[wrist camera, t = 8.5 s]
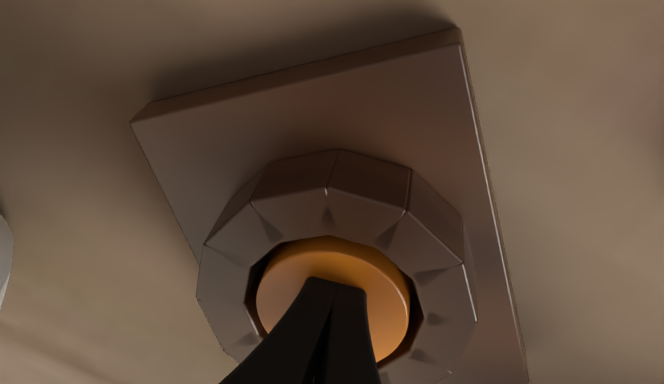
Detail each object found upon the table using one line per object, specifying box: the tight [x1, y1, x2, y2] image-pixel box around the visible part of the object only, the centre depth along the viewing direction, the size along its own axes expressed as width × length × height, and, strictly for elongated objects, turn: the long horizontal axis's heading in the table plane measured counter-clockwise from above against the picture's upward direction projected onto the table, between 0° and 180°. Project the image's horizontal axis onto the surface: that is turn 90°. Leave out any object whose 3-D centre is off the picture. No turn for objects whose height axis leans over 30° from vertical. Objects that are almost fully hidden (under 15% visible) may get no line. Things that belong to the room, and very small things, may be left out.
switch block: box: [129, 27, 529, 384], centre depth 15 cm, size 10×8×3 cm
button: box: [256, 235, 412, 362], centre depth 15 cm, size 4×4×2 cm
